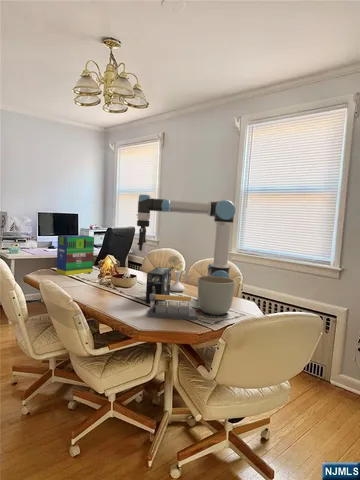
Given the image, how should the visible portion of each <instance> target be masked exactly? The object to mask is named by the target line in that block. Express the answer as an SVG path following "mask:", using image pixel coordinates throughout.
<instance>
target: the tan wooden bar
mask: <svg viewBox="0 0 360 480" xmlns="http://www.w3.org/2000/svg"><path fill="white" fill-rule="evenodd" d="M149 299H150V300H156V299H158V300H165V301H173V302H189V303H190V302H191V301H192V297H191V296H186V295H185V296H183V295H156V294H150V297H149Z"/></svg>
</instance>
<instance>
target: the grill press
mask: <svg viewBox="0 0 360 480" xmlns="http://www.w3.org/2000/svg"><path fill="white" fill-rule="evenodd" d="M149 305H150V307H149V309H148V314H147V318H152V319H153V318H154V319H155V318H156V319H167V320H169V319H170V320H182V321H183V320H184V321H185V320H186V321H197V314H196V309H195V308H190V301H174V300H165V301H157V303H156V305H155V300H151V302H150V304H149Z"/></svg>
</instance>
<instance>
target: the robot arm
mask: <svg viewBox="0 0 360 480" xmlns="http://www.w3.org/2000/svg"><path fill="white" fill-rule="evenodd" d="M236 211H237V210H236V206H235V204H234V203H233V202H232V201H230V200H228V199H222V200H219V201H218V200H217V201H209V202H199V201H184V200H170V199H166V198H152V195H150V194H139V195H138V201H137V214H136V216H137V221H136V226H137V227H140V228H139V230H138V233H139V236H138V242H137V247H138V250H137V256H138V257H143V255H144V254H145V250H146V244H147V240H146V239H147V238H146V236H147V228H149V227H150V223H151V222H150V219H151V212H162V213H163V212H164V213H179V214H181V213H182V214H192V215H193V214H194V215H207V216H208V217H213V218H214V220H213V221H214V223H215V225H216V226H215V227H216V228H215V240H214V251H213V252H214V253H213V263H208V266H207V276H219V277H226V278H230V279H231V277H230V266H229V264H228V261H229V260H228V258H229V248H230V246H229V245H230V234H231V233H230V232H231V226H232V225H233V224H234V217H235V214H236Z"/></svg>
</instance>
